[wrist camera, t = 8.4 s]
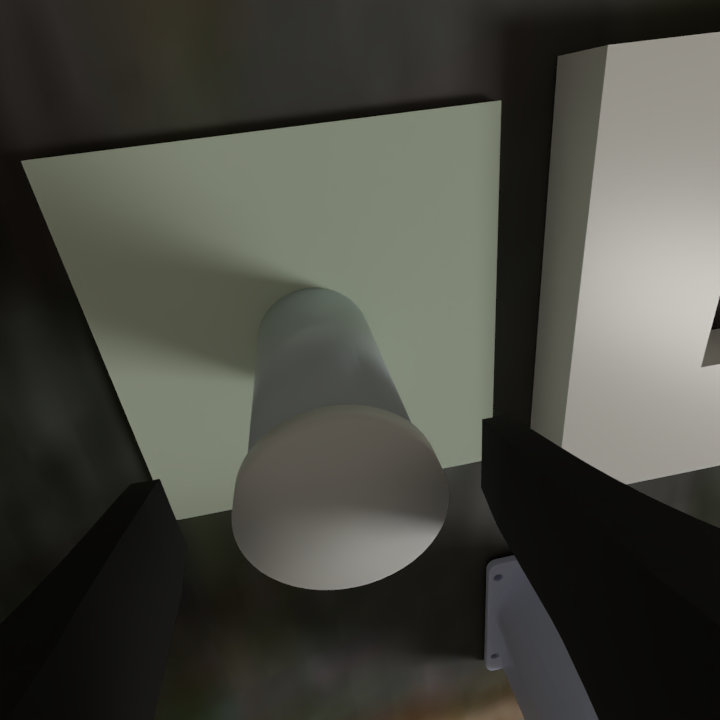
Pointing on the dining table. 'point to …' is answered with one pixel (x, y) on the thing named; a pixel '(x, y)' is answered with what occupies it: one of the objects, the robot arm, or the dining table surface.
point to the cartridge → (331, 454)
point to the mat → (283, 272)
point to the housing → (633, 260)
